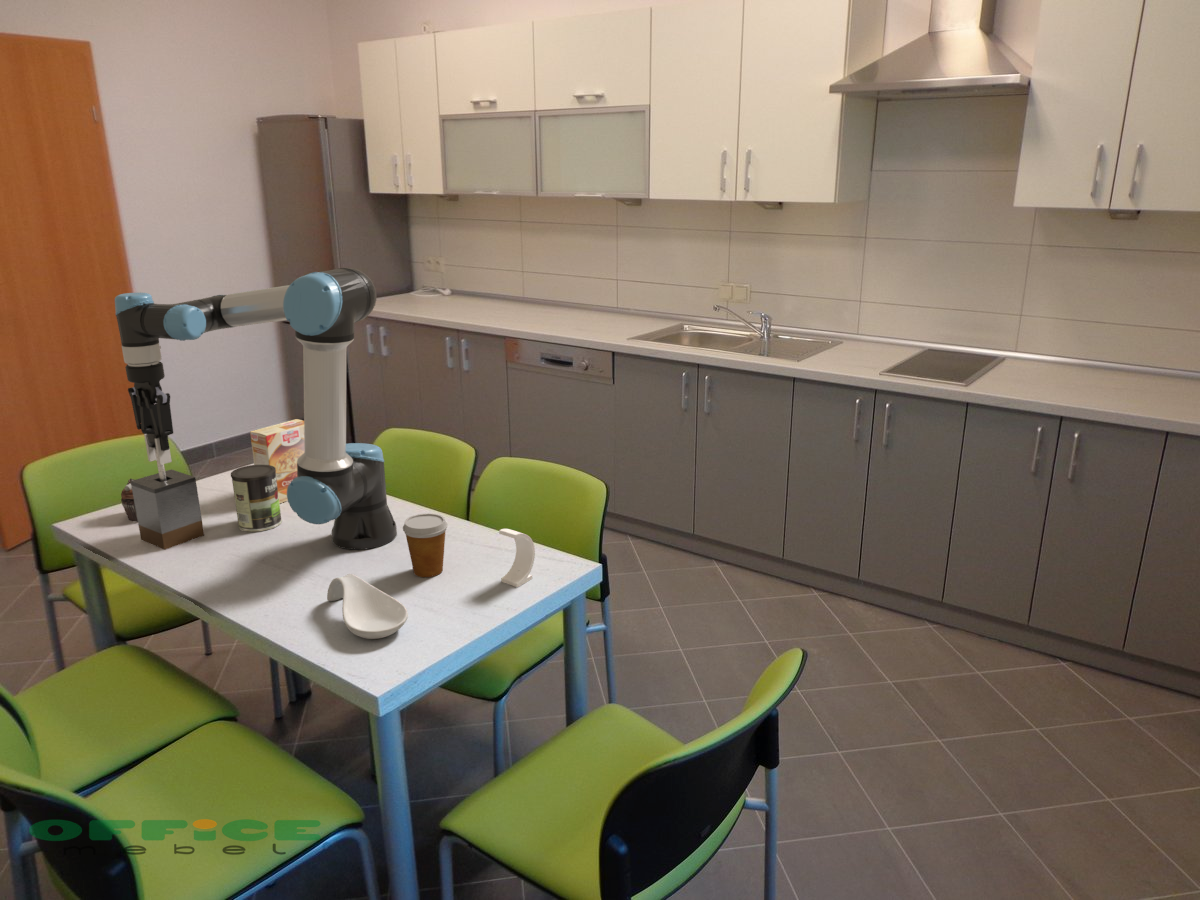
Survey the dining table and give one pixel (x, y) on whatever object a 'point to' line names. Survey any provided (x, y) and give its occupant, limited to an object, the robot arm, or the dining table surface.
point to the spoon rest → (367, 607)
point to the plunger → (152, 444)
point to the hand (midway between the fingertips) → (160, 461)
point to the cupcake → (129, 502)
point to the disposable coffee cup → (426, 543)
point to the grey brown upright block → (167, 509)
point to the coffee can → (256, 497)
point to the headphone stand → (520, 559)
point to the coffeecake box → (280, 451)
